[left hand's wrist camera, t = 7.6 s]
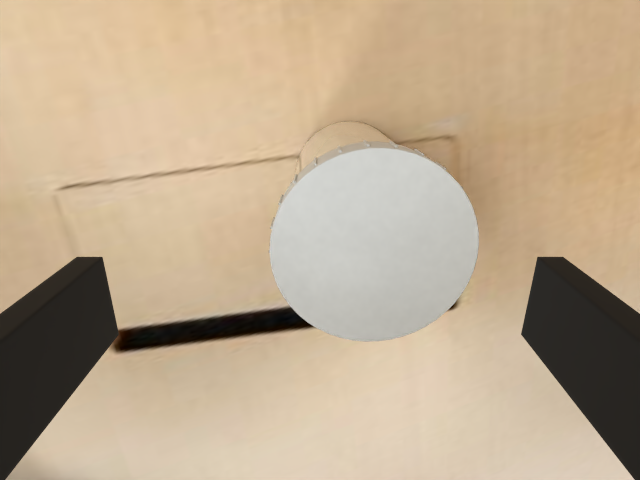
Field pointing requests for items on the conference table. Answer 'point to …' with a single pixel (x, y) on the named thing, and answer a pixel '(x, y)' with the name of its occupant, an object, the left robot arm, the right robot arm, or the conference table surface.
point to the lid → (373, 241)
